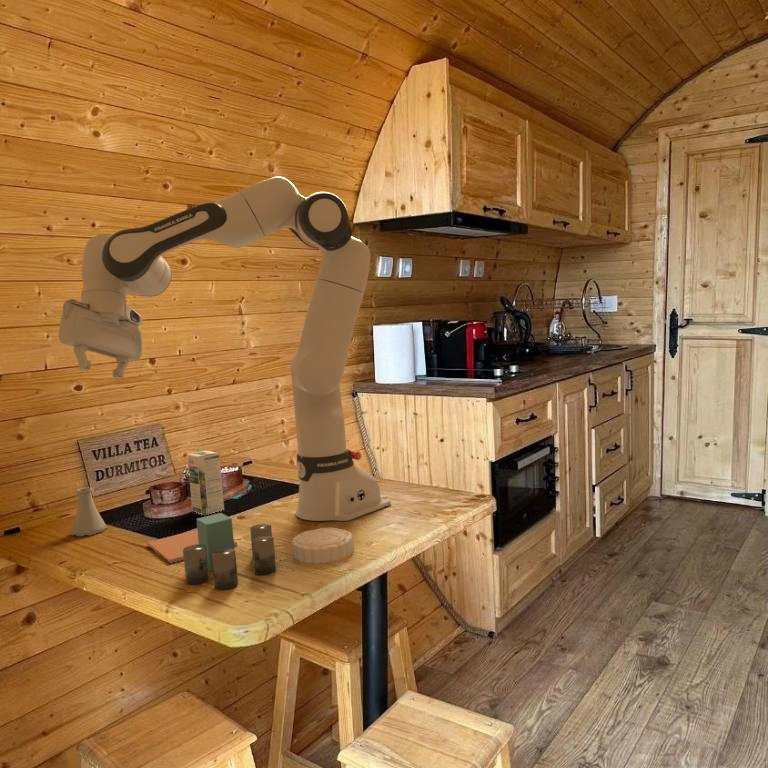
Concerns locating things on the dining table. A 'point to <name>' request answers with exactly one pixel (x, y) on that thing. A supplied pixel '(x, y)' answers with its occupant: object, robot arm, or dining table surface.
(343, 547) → the mooncake
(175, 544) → the tile
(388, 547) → the dining table surface
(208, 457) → the syrup box
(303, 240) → the robot arm
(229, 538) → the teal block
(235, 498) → the sponge
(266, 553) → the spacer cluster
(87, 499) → the flask
